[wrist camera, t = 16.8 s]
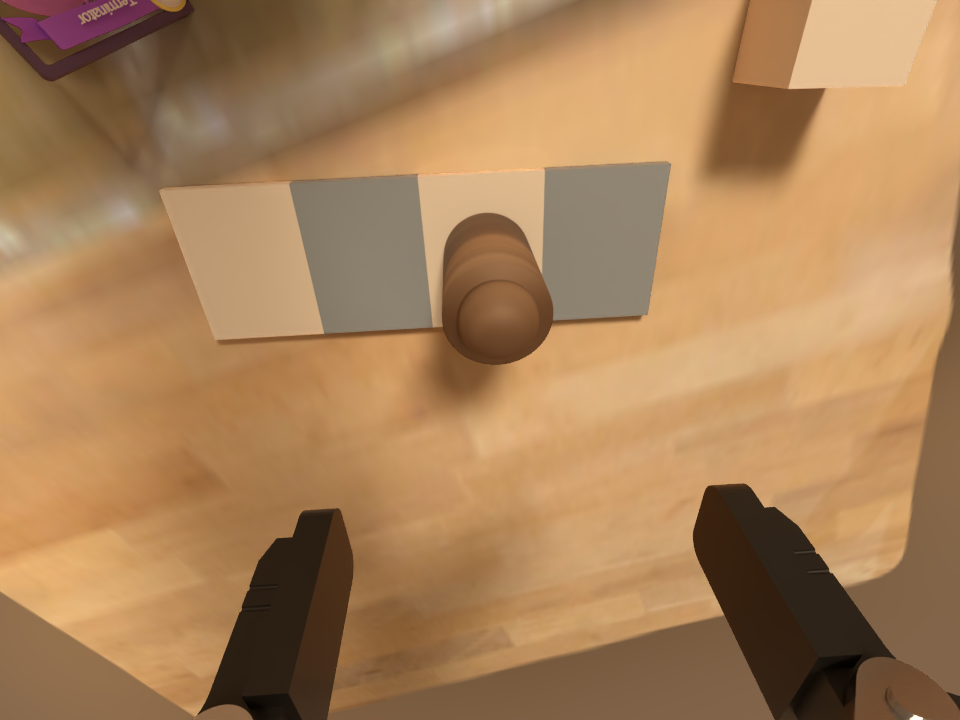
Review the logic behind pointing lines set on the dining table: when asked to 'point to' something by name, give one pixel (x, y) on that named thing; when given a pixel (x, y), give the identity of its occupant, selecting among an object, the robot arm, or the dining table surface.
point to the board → (410, 244)
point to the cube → (831, 42)
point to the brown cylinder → (493, 291)
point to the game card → (85, 28)
